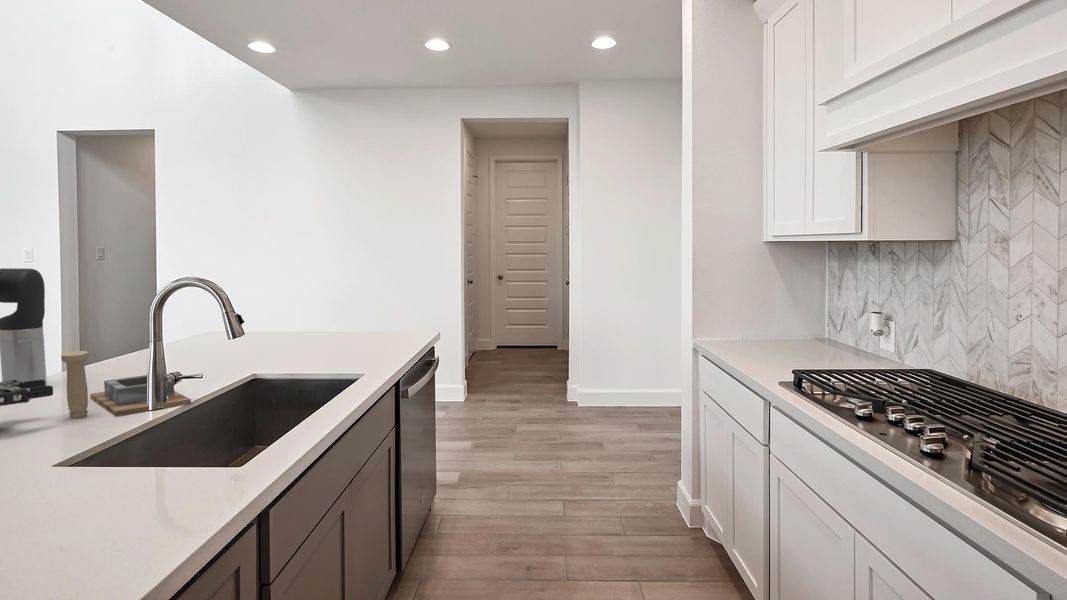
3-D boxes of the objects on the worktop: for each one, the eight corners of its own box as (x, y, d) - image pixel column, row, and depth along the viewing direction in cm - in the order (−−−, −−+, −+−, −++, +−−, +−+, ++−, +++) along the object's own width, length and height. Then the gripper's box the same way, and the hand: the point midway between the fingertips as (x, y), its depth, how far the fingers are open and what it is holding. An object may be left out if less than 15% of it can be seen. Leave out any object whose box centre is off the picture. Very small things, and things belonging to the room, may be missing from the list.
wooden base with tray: (90, 398, 157) (89, 378, 157) (159, 387, 169) (158, 369, 169) (116, 416, 141) (115, 394, 141) (190, 403, 153) (190, 383, 153)
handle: (63, 421, 137) (59, 356, 135) (68, 414, 142) (64, 352, 141) (89, 418, 139) (86, 354, 138) (93, 412, 145) (89, 350, 143)
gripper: (-49, 388, 119) (54, 375, 131) (-56, 377, 129) (41, 366, 141) (-46, 425, 120) (56, 409, 132) (-53, 411, 129) (43, 397, 141)
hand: (48, 387), depth 136 cm, fingers open, 8 cm apart
